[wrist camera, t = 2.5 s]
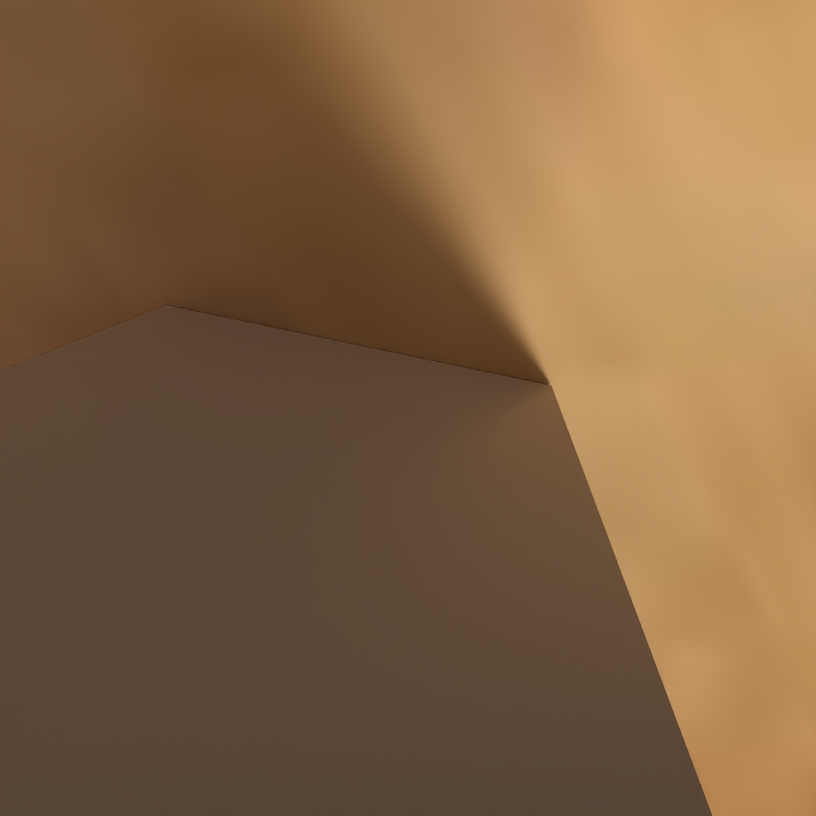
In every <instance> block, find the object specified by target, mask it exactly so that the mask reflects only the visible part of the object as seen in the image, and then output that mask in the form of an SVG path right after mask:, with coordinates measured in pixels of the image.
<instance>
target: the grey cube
mask: <svg viewBox="0 0 816 816" xmlns="http://www.w3.org/2000/svg"><path fill="white" fill-rule="evenodd" d="M0 816H712V814H711V811H710V808H709V806H708V803H707V800H706V798H705V795H704V792H703V790H702V787H701V784H700V782H699V779H698V776H697V774H696V771H695V768H694V766H693V763H692V760H691V758H690V755H689V752H688V750H687V747H686V744H685V742H684V739H683V736H682V734H681V731H680V728H679V726H678V723H677V720H676V717H675V715H674V712H673V709H672V707H671V704H670V701H669V699H668V696H667V693H666V691H665V688H664V685H663V683H662V680H661V677H660V675H659V672H658V669H657V667H656V664H655V661H654V659H653V656H652V653H651V651H650V648H649V645H648V643H647V640H646V637H645V635H644V632H643V629H642V627H641V624H640V621H639V619H638V616H637V613H636V611H635V608H634V605H633V603H632V600H631V597H630V595H629V592H628V589H627V587H626V584H625V581H624V579H623V576H622V573H621V571H620V568H619V565H618V563H617V560H616V557H615V555H614V552H613V549H612V547H611V544H610V541H609V538H608V536H607V533H606V530H605V528H604V525H603V522H602V520H601V517H600V514H599V512H598V509H597V506H596V504H595V501H594V498H593V496H592V493H591V490H590V488H589V485H588V482H587V480H586V477H585V474H584V472H583V469H582V466H581V464H580V461H579V458H578V456H577V453H576V450H575V448H574V445H573V442H572V440H571V437H570V434H569V432H568V429H567V426H566V424H565V421H564V418H563V416H562V413H561V410H560V408H559V405H558V402H557V400H556V397H555V394H554V392H553V389H552V386H551V385H546V384H542V383H537V382H532V381H527V380H522V379H518V378H513V377H508V376H503V375H498V374H494V373H489V372H484V371H479V370H475V369H470V368H465V367H460V366H455V365H451V364H446V363H441V362H436V361H431V360H427V359H422V358H417V357H412V356H408V355H403V354H398V353H393V352H388V351H384V350H379V349H374V348H369V347H364V346H360V345H355V344H350V343H345V342H340V341H336V340H331V339H326V338H321V337H317V336H312V335H307V334H302V333H297V332H293V331H288V330H283V329H278V328H273V327H269V326H264V325H259V324H254V323H250V322H245V321H240V320H235V319H230V318H226V317H221V316H216V315H211V314H206V313H202V312H197V311H192V310H187V309H183V308H178V307H173V306H168V305H165V306H163V307H160V308H158V309H155V310H153V311H150V312H148V313H145V314H143V315H140V316H137V317H135V318H132V319H130V320H127V321H125V322H122V323H120V324H117V325H115V326H112V327H110V328H107V329H104V330H102V331H99V332H97V333H94V334H92V335H89V336H87V337H84V338H82V339H79V340H77V341H74V342H71V343H69V344H66V345H64V346H61V347H59V348H56V349H54V350H51V351H49V352H46V353H44V354H41V355H38V356H36V357H33V358H31V359H28V360H26V361H23V362H21V363H18V364H16V365H13V366H11V367H8V368H5V369H3V370H0Z"/></svg>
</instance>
